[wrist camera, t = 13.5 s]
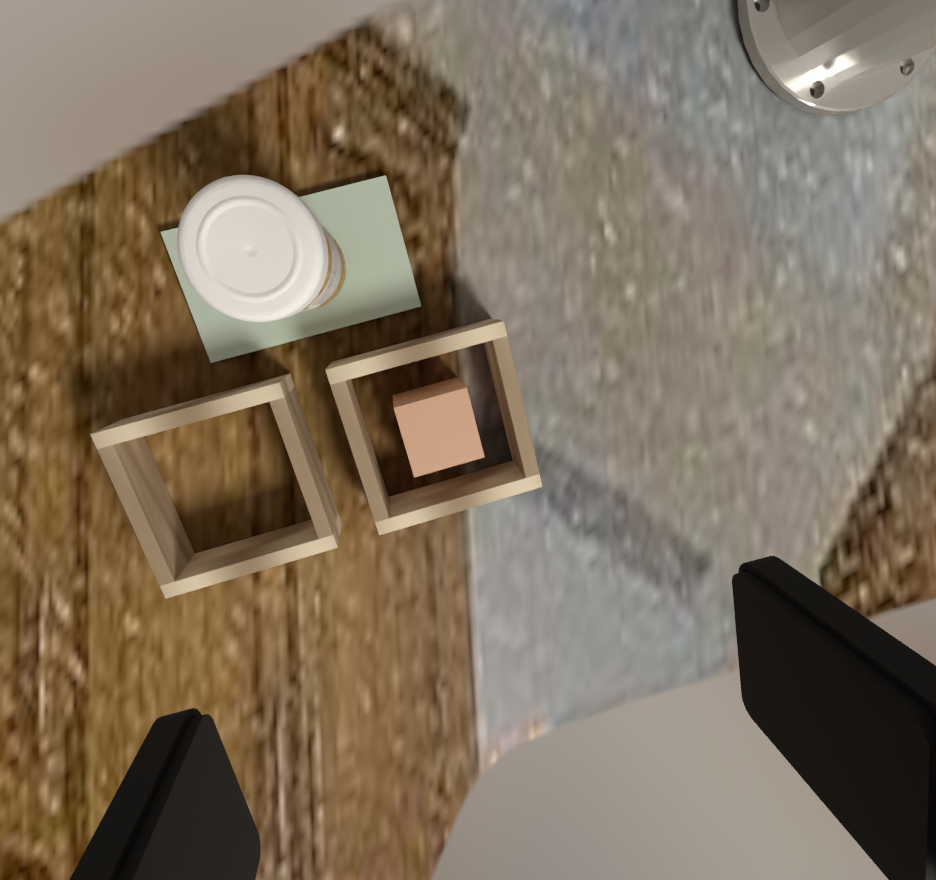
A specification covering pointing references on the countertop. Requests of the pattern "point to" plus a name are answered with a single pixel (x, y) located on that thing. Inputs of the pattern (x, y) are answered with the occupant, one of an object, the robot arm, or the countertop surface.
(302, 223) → the sprinkles bottle
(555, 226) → the countertop surface
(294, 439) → the box
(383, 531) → the box
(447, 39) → the countertop surface
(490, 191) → the countertop surface
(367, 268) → the mat
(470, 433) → the terracotta cube
